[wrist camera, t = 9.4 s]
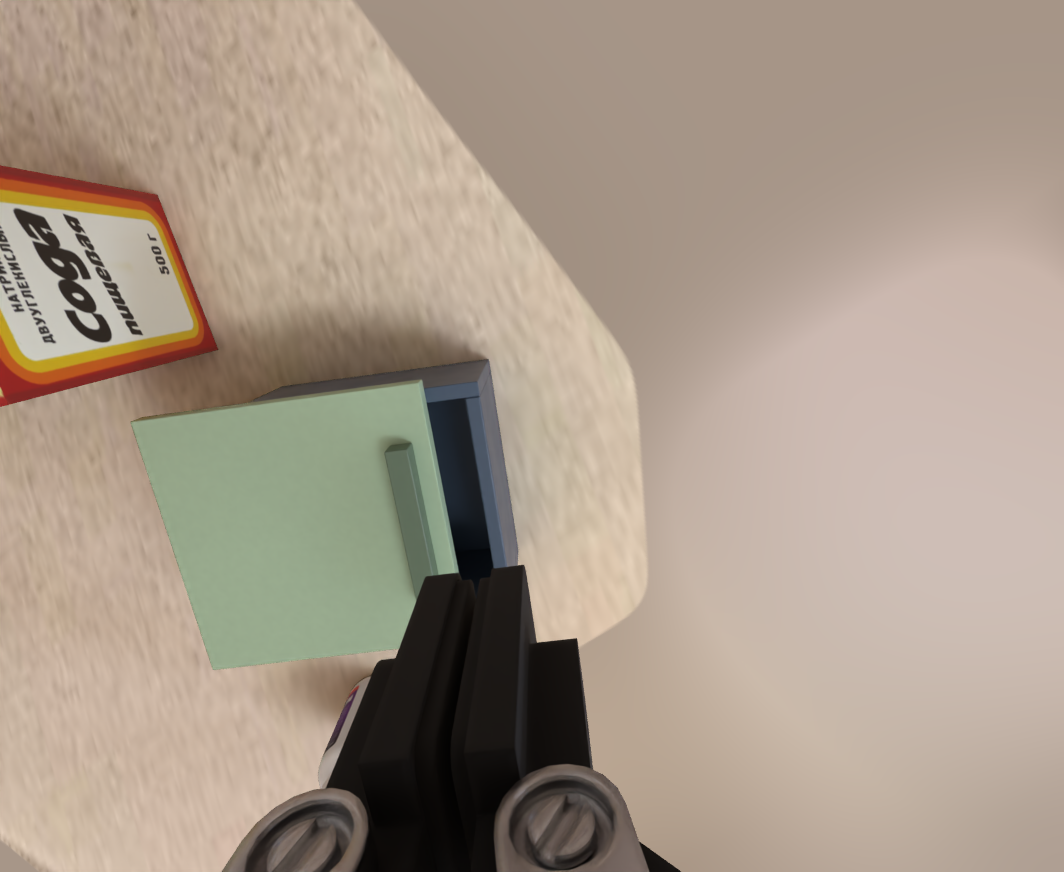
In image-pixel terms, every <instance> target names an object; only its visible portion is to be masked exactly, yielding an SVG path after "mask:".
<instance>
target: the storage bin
mask: <svg viewBox="0 0 1064 872" xmlns="http://www.w3.org/2000/svg"><path fill="white" fill-rule="evenodd" d="M420 379H421V380H422V382H423V387H424V392H425V398H426V403H427V408H428V413H429V419H430V424H431V429H432V434H433V440H434V445H435V450H436V455H437V460H438V466H439V471H440V476H441V481H442V487H443V492H444V497H445V502H446V508H447V513H448V518H449V523H450V529H451V534H452V539H453V544H454V550H455V555H456V560H457V565H458V571H459V574H460V576H461V579H462V581H463V580H472V582H473V585H474V590H475V596H476V598H477V592H478V587H479V582H480V579H481V578H489V577H490V576H491V570H492V569H493V568H501V567H509V566H517V564H518V545H517V539H516V532H515V526H514V519H513V513H512V506H511V500H510V493H509V487H508V480H507V474H506V467H505V461H504V454H503V448H502V441H501V435H500V428H499V422H498V415H497V409H496V402H495V396H494V389H493V383H492V376H491V370H490V363H489V359H486V360H479V361H471V362H464V363H456V364H449V365H441V366H433V367H426V368H418V369H411V370H403V371H396V372H388V373H381V374H373V375H365V376H358V377H350V378H343V379H335V380H328V381H320V382H313V383H305V384H297V385H290V386H282V387H280V388H278V389H276V390H274V391H272V392H269V393H267V394H265V395H263V396H261V397H259V398H257V399H255V400H253V401H250V402H248V403H251V402H258V401H265V400H273V399H280V398H287V397H295V396H302V395H309V394H317V393H324V392H332V391H339V390H346V389H354V388H361V387H368V386H376V385H383V384H390V383H398V382H405V381H413V380H420Z"/></svg>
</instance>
